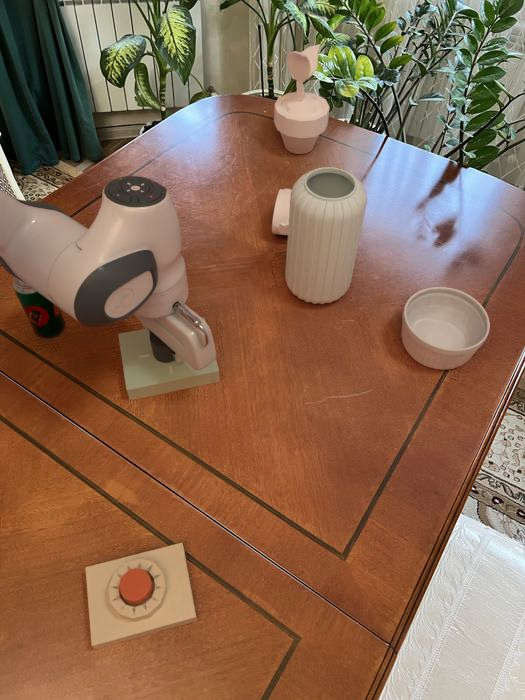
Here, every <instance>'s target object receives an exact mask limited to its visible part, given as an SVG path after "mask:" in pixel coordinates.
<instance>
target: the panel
mask: <svg viewBox="0 0 525 700" xmlns="http://www.w3.org/2000/svg"><path fill="white" fill-rule="evenodd" d="M201 318H202V319H203V320H204V321H205V322H206V323H207V321H206V318H205V317H201ZM117 335H118V336H117V337H118V342H119V350H120V357H121V363H122V369H123V376H124V383H125V390H126V393H127V397H128V399H129V401H130V402H131V401H135V400H141V399H144V398H151V397H155V396H160V395H164V394H168V393H173V392H178V391H183V390H187V389H188V390H189V389H192V388H198V387H202V386H207V385H211V384H215V383H220V382H221V379H220V377H221V376H220V370H219V365H218V362H217V357H216V358H215V360H214V361H213V362H211V363H210V364H209V365H208V366H206V367H205V368H203V369H201V370H194V369H193V368H192V367H191V366H190V365H189V364H188V363H187V362H185V361H183V362H181V363H177V362H176V361H173V362H170V363H162V362H159V361H158V360H156V359H155V357H154V355H153V351H152V347H151V342H150V337H149V336H148V334H147V330H146V329H145V328H141V329H137V330H132V331H126V332H120V333H117Z"/></svg>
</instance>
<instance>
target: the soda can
mask: <svg viewBox="0 0 525 700" xmlns="http://www.w3.org/2000/svg"><path fill="white" fill-rule="evenodd" d="M12 288H13V290H14V292H15V295H16V297H17V299H18V301H19V303H20V305H21V308H22V310H23V312H24V313H25V316H26V318H27V320H28V322H29V324H30V326H31V328H32V331H33V332H34V334H35V335H36V336H37V337H40V338H43V339H50V338H54V337H57V336H59V334H61V333H62V332H63V331H64V328H65V326H66V321H65V319H64V316H63V314H62V310H61V309H60V308H59V307H57V306H56V305H55V304H54V303H52V302H51V301H49V300H48V299H47V298H45V297H44V296H43V295H41V294H40V293H39V292H37V291H36V290H35V289H33V288H32V287H30V286H29V285H28V284H26V283H24V282H23V281H21V280H19V279H18V278H16V277H14V276H13V277H12Z"/></svg>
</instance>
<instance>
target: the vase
mask: <svg viewBox="0 0 525 700" xmlns="http://www.w3.org/2000/svg"><path fill="white" fill-rule="evenodd" d="M367 196H368V195H367V191H366V188H365V187H364V185H363V183H362V182H361V181H360V180H359V179H358V178H357V177H356V176H355V175H353V174H352V173H350V172H349V171H347V170H345V169H342V168H339V167H332V166H323V167H318V168H315V169H313V170H309V171H307V172H306V173H304V174H302V175H301V176H300V177H299V178H298V179H297V180H296V181H295V182H294V184H293V186H292V191H291V197H290V212H289V227H288V235H287V243H286V259H285V272H284V273H285V275H284V277H285V283H286V285H287V287H288V289H289V291H291V293H292V295H294V296H296V297H297V298H298V299H299V300H301V301H304V302H305V303H311V304H313V305H316V304H319V305H324V304H331V303H333V302H335V301H338V300H339V299H340V298H341V297H343V296H345V295H346V293H347V291H349V289H350V287H351V283H352V280H353V275H354V274H353V273H354V269H355V263H356V261H357V260H356V258H357V255H358V251H359V250H358V249H359V245H360V239H361V234H362V230H363V224H364V218H365V214H366V209H367V203H368V197H367Z"/></svg>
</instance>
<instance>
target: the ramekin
mask: <svg viewBox="0 0 525 700" xmlns="http://www.w3.org/2000/svg"><path fill="white" fill-rule="evenodd" d="M401 319H402V324H401V342H402V345H403V347H404V348H405V351H406V352H407V354H408V355H409V356H410V357H411V358H412V359H413V360H414V361H416V362H417V363H418V364H420V365H422V366H424V367H427V368H429V369H434V370H439V371H440V370H442V371H443V370H446V371H447V370H452V369H456V368H459V367H462V366H464V364H466V363H467V362H468V361H469V360H470V359H472V357H473V355H474V354H475V353H476V352H477V351H478V349H480V348H481V347H482V346H483V345H484V344H485V342H486V340H487V338H488V336H489V334H490V328H491V323H490V318H489V315H488V313H487V311H486V309H485V308H484V307H483V305H482V304H481V303H480V302H479V301H478V300H477V299H476V298H474V297H473V296H472V295H470V294H468V293H466V292H464V291H462V290H460V289H456V288H452V287H446V286H432V287H431V286H430V287H427V288H423V289H419V290H418V291H416V292H415V293H413V294H412V295H411V296H409V298H408V299H407V300H406V302H405V304H404V306H403V309H402V314H401Z"/></svg>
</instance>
